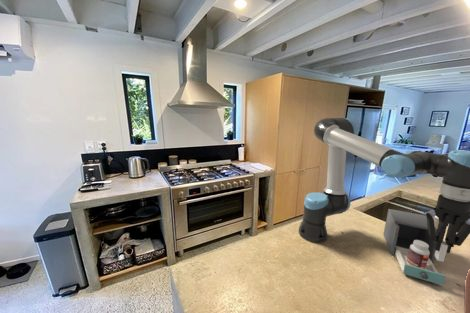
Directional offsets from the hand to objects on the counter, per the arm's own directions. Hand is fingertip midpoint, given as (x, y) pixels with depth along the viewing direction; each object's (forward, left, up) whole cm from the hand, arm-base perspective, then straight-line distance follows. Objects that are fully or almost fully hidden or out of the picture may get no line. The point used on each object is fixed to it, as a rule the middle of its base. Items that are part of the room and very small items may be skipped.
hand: (438, 258), depth 68 cm
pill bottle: (0, +14, -14) cm, 20 cm away
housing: (0, +29, -16) cm, 33 cm away
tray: (0, +15, -15) cm, 21 cm away
